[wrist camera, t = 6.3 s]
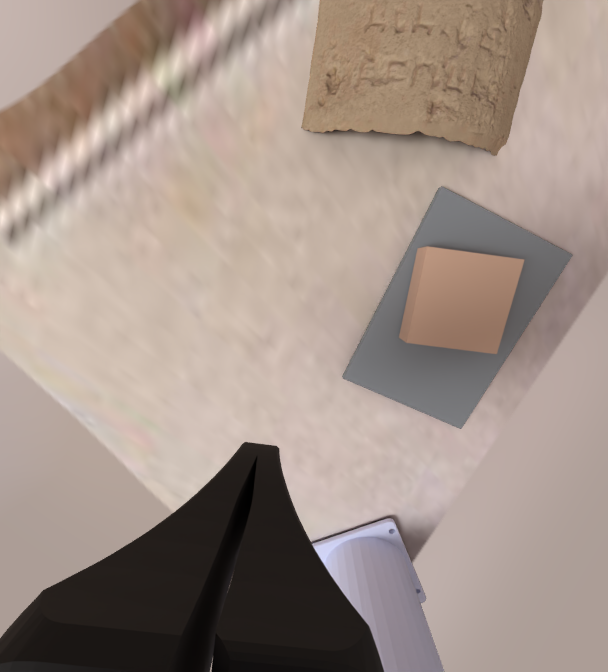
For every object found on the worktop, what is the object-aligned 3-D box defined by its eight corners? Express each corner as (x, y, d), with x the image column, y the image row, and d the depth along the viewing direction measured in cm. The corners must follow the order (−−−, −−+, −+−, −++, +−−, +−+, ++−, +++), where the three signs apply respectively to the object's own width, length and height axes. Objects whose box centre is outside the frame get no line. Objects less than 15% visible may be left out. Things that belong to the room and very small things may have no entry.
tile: (398, 336, 20) (481, 347, 20) (406, 342, 18) (496, 354, 18) (416, 248, 18) (505, 260, 19) (427, 246, 17) (524, 259, 17)
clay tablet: (558, -31, 16) (609, -90, 13) (511, 166, 18) (545, 148, 16) (305, -64, 16) (306, -131, 13) (289, 140, 18) (286, 118, 15)
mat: (458, 426, 22) (461, 429, 21) (342, 376, 21) (343, 378, 20) (567, 255, 19) (572, 254, 19) (438, 188, 18) (441, 186, 18)
